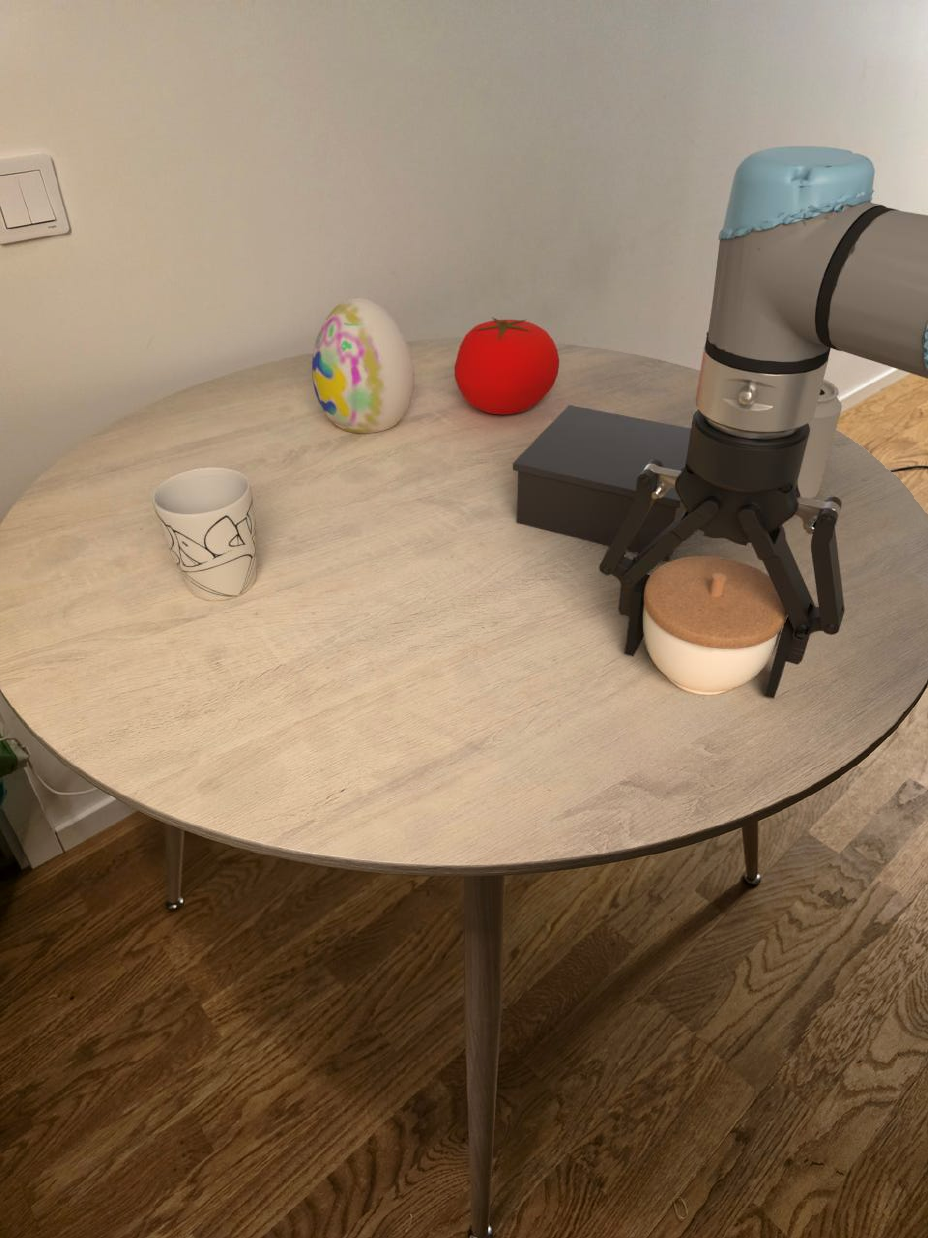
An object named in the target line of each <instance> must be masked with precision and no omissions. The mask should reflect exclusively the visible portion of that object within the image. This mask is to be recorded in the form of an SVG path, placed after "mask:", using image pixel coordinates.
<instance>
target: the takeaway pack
mask: <svg viewBox="0 0 928 1238" xmlns="http://www.w3.org/2000/svg"><path fill="white" fill-rule="evenodd" d="M690 432H691V427H686V426H682V425H681V426H680V425H676V424H670V423H666V422H659V421H654V420H650V419H645V418H639V417H634V416H633V417H632V416H629V415H625V414H619V413H613V412H608V411H603V410H598V409H593V408H588V407H582V406H577V405H572V404H568V406H567V407H565V408H564V409H563V411H562V412H561V413H560V414H559V415H558V416H557V417H556V418H554V420H553V421H552V422H551V423H550V424H549V425H548V426H547V427H546V428H545V429H544V430H543V431H542V432H541V433H540V435H539V436H538V437H537V438H535V439H534V441H533V442H532V443H531V444H530V445H528V447H527V448H526V449H525V450H524V451H523V452H522V453H521V454H520V455H519V456H518V457H517V459H515V460H514V462H513V463H512V470H513V471H515V472H517V497H516V499H517V501H516V523H517V524H520V525H526V526H528V527H532V528H536V529H540V530H544V531H549V532H552V533H556V534H559V535H563V536H564V535H565V536H568V537H572V538H576V539H579V540H583V541H587V542H591V543H595V544H600V545H603V546H607V547H610V545H611V543H612V541H613V540H614V538H615V536H616V534H617V532H618V530H619V529H620V527H621V525H622V523H623V521H624V519H625V518H626V516H627V514H628V512H629V510H630V508H631V507H632V505H633V503H634V501H635V496H636V485H637V478H638V476H639V475H640V473H641V472H642V471H643V469H644V468H645V466H646V465H647V464H648V462H649V461H650V460H653V459H657V460H659V461H660V462H661V463H662V464H663V468H668V469H673V470H678V471H681V470H682V469H683V468H684V467H685V464H686V458H687V451H688V445H689V439H690ZM685 509H686V508H685V506H684V505H683V503H682V501H681V499H680V497H679V496H678V494H677V492H676V489H674V488H672V489H669V490H668V491H667V493H666V494H665V496H664V497H662V498H657V499H656V500H655V502H654V503H653V505H652V507H651V509H650V511H649V512H648V514H647V516H646V518H645V519H644V521H643V523H642V525H641V526H640V528H639V530H638V532H637V533H636V535H635V537H634V539H633V541H632V542H631V544H630V546H629V548H628V549H627V551H626V552H631V553H635V554H637V555H638V554H639V553H640V552H641V551H642V550H644V549H645V548H646V547H647V546H648V545H649V544H650V543H651V542H652V541H653V540H654V539H655V538H656V537H657V536H659V535H660V534H661V533H662V532H663V531H664V530H665V529H666V528H667V527H668V526H669V525H670V524H671V523H672V522H674V521H675V520H676V519H677V518H678V517H679V516H680V515H681V514H682V513H683V511H684V510H685ZM674 551H675V549H674V550H673V551H672V552H671V553H670V554H669V555H668V556H666V557H665V558H664V559H663V560H662V561H666V562H669V559H670V558H671V556H672V555H673V553H674Z"/></svg>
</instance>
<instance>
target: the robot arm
mask: <svg viewBox="0 0 928 1238" xmlns="http://www.w3.org/2000/svg"><path fill="white" fill-rule="evenodd" d="M875 171H876V169H875V167H874V164H873V161H872V160H871V159H870V157H868V156H866V155H864V154H861V153H856V152H855V153H854V152H853V151H851V150H849V149H843V148H837V147H830V146H816V145H786V146H775V147H769V148H765V149H762V150H761V149H760V150H757V151H755V152H752V153H751V154H749V155H748V156H747V157H745V158H743V160H742V161H741V162H740V163H739V165H738V166H737V167H736V169H735V171H734V174H733V178H732V183H731V187H730V192H729V197H728V198H729V199H728V202H727V206H726V212H725V216H724V220H723V225H722V229H721V230H720V231H719V234H718V239H717V240H718V241H719V244H718V251H717V261H716V269H715V276H714V277H715V278H714V287H713V296H712V301H711V310H710V316H709V317H710V318H709V323H708V328H707V329H708V331H707V332H706V337H705V344H704V346H703V351H702V356H701V364H700V369H699V375H698V383H697V388H696V395H695V406H696V408H697V410H696V411H695V412H694V414H693V415H692V419H691V427H690V428H691V432H690V439H689V445H688V451H687V458H686V464H685V467H684V468H683V469H682V470H681V471H678V470H673V469H668V468H663V464H662V463H661V462H660V461H659V460H657V459H653V460H650V461H649V462H648V464H647V465H646V466H645V468H644V469H643V471H642V472H641V473H640V475H639V476H638V478H637V485H636V496H635V501H634V503H633V505H632V507H631V508H630V510H629V512H628V514H627V516H626V518H625V519H624V521H623V523H622V525H621V527H620V529H619V530H618V532H617V534H616V536H615V538H614V540H613V541H612V543H611V545H610V546H608V549H607V551H606V553H605V555H604V557H603V558H602V560H601V562H600V563H599V566H598V569H599V572H600V573H601V575H604V576H613V577H615V578H616V579H617V580H618V581H619V583H620V591H619V598H618V599H619V600H618V607H617V611H618V613H619V615H620V616H622V617H627V618H628V623H627V632H626V640H625V648H624V655H627V656H630V657H634V656H635V655H636V652H637V651H638V648H639V647H640V645H641V643H642V641H643V640H644V634H643V607H644V589H645V584H646V581H647V579H648V578H649V576H650V575H651V574H649V573H650V572H651V571H652V570H654V568H655V567H656V566H658V565H659V564H660V563H661V562H662V561H664V560H663V559H664V558H665V557H666V556H668V555H669V554H670V553H671V552H672V551H673V550H674V551H675V550H676V549H677V548H678V547H679V546H680V545H681V544H682V543H684V542H686V541H687V540H688V539H690V538H691V537H693V535H694V534H695V533H696V532H698V531H700V532H702V533H703V535H702V536H703V537H707V538H711V539H725V540H728V541H730V542H732V543H734V544H736V545H740V546H743V547H747V546H748V544H751V547H752V548H753V551H754V553H755V555H756V557H757V559H758V561H761V562H762V563H763V565H764V568H765V570H766V571H767V575H768V576H770V578H771V580H772V583H773V585H774V587H775V589H776V591H777V593H778V596H779V598H780V600H781V602H782V604H783V607H784V609H785V611H786V613H787V617H786V621H785V624H784V626H783V627H782V630H781V633H780V636H779V639H778V642H777V646H776V650H775V655H774V658H773V662H772V665H771V669H770V672H769V677H768V681H767V684H766V688H765V691H764V694H763V696H764V697H767V698H770V699H775V697H776V695H777V691H778V688H779V685H780V683H781V680H782V676H783V672H784V668H785V665H786V663H791V664H794V665H796V666H798V665H800V664H801V662H802V661H803V659H804V656H805V653H806V649H807V646H808V642H809V641H810V636H811V635H812V634H813V633H816V632H823V633H824V634H825V635H829V636H833V635H836V634H838V633H839V632H840V629H841V625H842V623H843V622H842V621H843V617H844V614H845V603H844V602H845V601H844V594H843V585H842V583H843V582H842V575H841V567H840V557H839V550H838V549H839V548H838V541H837V533H836V526H837V521H838V519H839V516H840V512H841V510H842V508H843V507H842V506H843V502H842V501H841V499H840V498H838V497H837V496H832V495H831V496H828V497H826V498H825V499H824V500H823V501H822V500H818V499H814V498H812V499H810V498H806V497H801V494H800V492H799V489H798V478H799V474H800V470H801V466H802V462H803V458H804V454H805V450H806V446H807V442H808V438H809V434H810V427H809V424H808V422H810V421H811V420H812V418H813V417H814V414H815V410H816V406H817V402H818V398H819V395H820V391H821V387H822V383H823V380H825V375H826V371H827V367H828V363H829V357H830V353H831V349H833V350H836V351H839V352H844V353H847V354H850V355H853V356H856V357H858V358H863V359H865V360H867V361H868V360H869V361H872V362H874V363H878V364H881V365H884V366H887V367H890V368H894V369H897V370H900V371H901V372H905V373H909V374H912V375H915V376H918V377H920V378H924V379H928V214H923V213H916V212H909V211H904V210H900V209H897V208H892V207H887V206H885V205H883V204H879V203H873V202H872V200H873V197H872V196H873V193H874V192H875V190H874V179H875V174H876V173H875ZM672 488H674V489H676V492H677V494H678V496H679V497H680V499H681V501H682V503H683V505H684V506H685V508H686V509H685V510H684V511H683V513H682V514H681V515H680V516H679V517H678V518H677V519H676V520H675V521H674V522H672V523H671V524H670V525H669V526H668V527H667V528H666V529H665V530H664V531H663V532H662V533H661V534H660V535H659V536H657V537H656V538H655V539H654V540H653V541H652V542H651V543H650V544H649V545H648V546H647V547H646V548H645V549H644V550H642V551H641V552H640V553H639V554H638V553H637V555H636V556H635V555H634V556H633V557H632V558H629V557H627V556H626V553H627V552H628V551H627V549H628V548H629V546H630V544H631V542H632V541H633V539H634V537H635V535H636V533H637V532H638V530H639V528H640V526H641V525H642V523H643V521H644V519H645V518H646V516H647V514H648V512H649V511H650V509H651V507H652V505H653V503H654V502H655V500H656V499H657V498H662V497H664V496H665V494H666V493H667V491H668V490H669V489H672ZM795 516H797V517H799V518H800V519H801V521H802V527H803V529H804V530H805V533H806V534H808V535H811V539H810V552H811V560H812V569H813V575H814V582H815V590H816V591H815V592H816V599H817V604H818V606H816V604H815V602H814V600H813V598H812V596H811V593H810V591H809V588H808V585H807V584H806V581H805V580H804V577H803V575H802V573H801V570H800V568H799V566H798V564H797V562H796V559H795V557H794V555H793V552H792V550H791V548H790V546H789V544H788V541H787V539H786V537H787V536H786V530H785V528H784V526H783V525H784V524H785V523H786V522H788V521H789V520H790V519H792V518H793V517H795ZM674 551H673V552H674Z"/></svg>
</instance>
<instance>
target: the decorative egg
mask: <svg viewBox="0 0 928 1238" xmlns="http://www.w3.org/2000/svg"><path fill="white" fill-rule="evenodd" d="M311 362H312V363H311V365H312V366H311V373H312V383H313V388H314V393H315V396H316V398H317V401H318V403H319V405H320V407H321V409H322V411H323V412H324V414H325V415H326V416H327V418H328V419H329V420H330V421H331V422H332V423H333V424H334V425H335V426H336V427H338V428H339V429H341V430H343V431H345V432H348V433H353V434H364V435H365V434H375V433H379V432H384V431H387V430H389V429H392V428H393V427H395V426H396V425H397V424H398V423H399V422H400V421H401V420H402V418H403V417H404V416H405V414H406V412H407V411H408V409H409V406H410V404H411V400H412V399H413V398H412V397H413V393H414V388H415V387H414V385H415V370H414V369H415V368H414V364H413V358H412V354H411V350H410V347H409V344H408V342H407V339H406V337H405V336H404V334H403V331H402V330H401V328H400V326H399V325H398V324H397V322H396V321H395V319H394V318H393V317H392V316H391V315H390V313H388V312H387V311H386V309H384V308H383V307H382V306H381V305H380V304H378V303H377V302H375V301H373V300H371V299H368V298H365V297H358V296H357V297H351V298H350V297H349V298H348V299H345V300H343V301H342V302H340V303H339V304H337V305H336V306H335V307H334V308H333V309H332V310H331V311H330V313H329V314H328V315H327V316H326V318H325V320H324V322H323V323H322V325H321V327H320V329H319V331H318V333H317V337H316V340H315V344H314V348H313V353H312V361H311Z"/></svg>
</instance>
